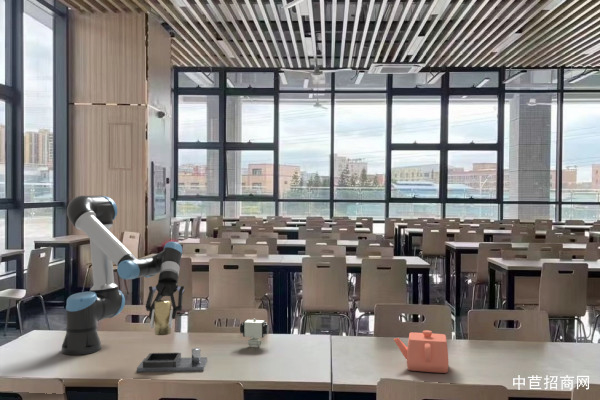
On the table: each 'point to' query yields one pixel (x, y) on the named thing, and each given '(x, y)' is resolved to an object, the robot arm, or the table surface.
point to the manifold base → (172, 362)
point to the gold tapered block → (162, 317)
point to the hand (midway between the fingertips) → (160, 325)
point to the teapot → (425, 352)
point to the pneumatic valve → (254, 331)
